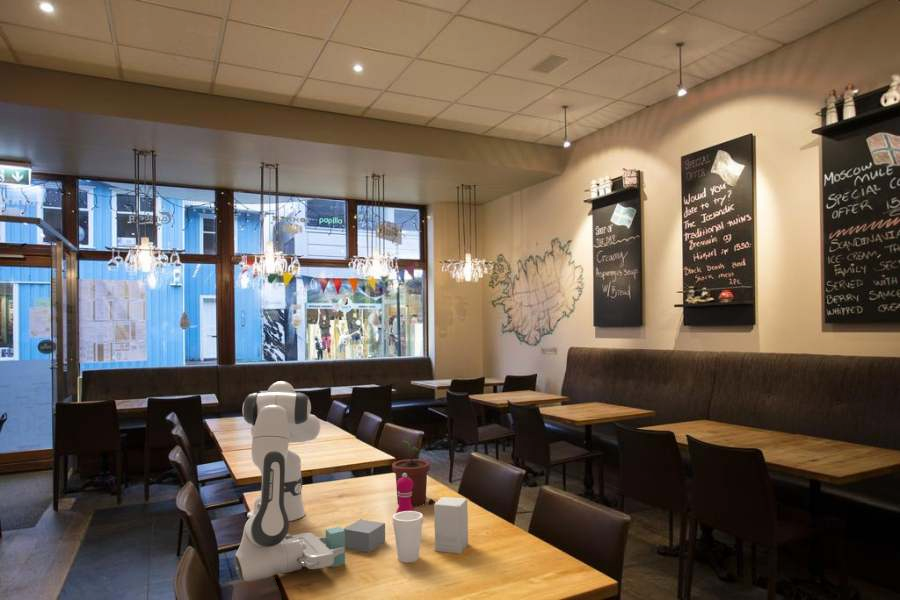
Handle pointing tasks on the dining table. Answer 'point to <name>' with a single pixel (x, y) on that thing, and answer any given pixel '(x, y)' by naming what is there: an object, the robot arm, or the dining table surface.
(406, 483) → the pepper mill
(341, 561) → the block
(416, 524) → the foam cup
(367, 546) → the pedestal
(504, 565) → the dining table surface
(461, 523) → the supplement box
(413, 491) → the potted plant
